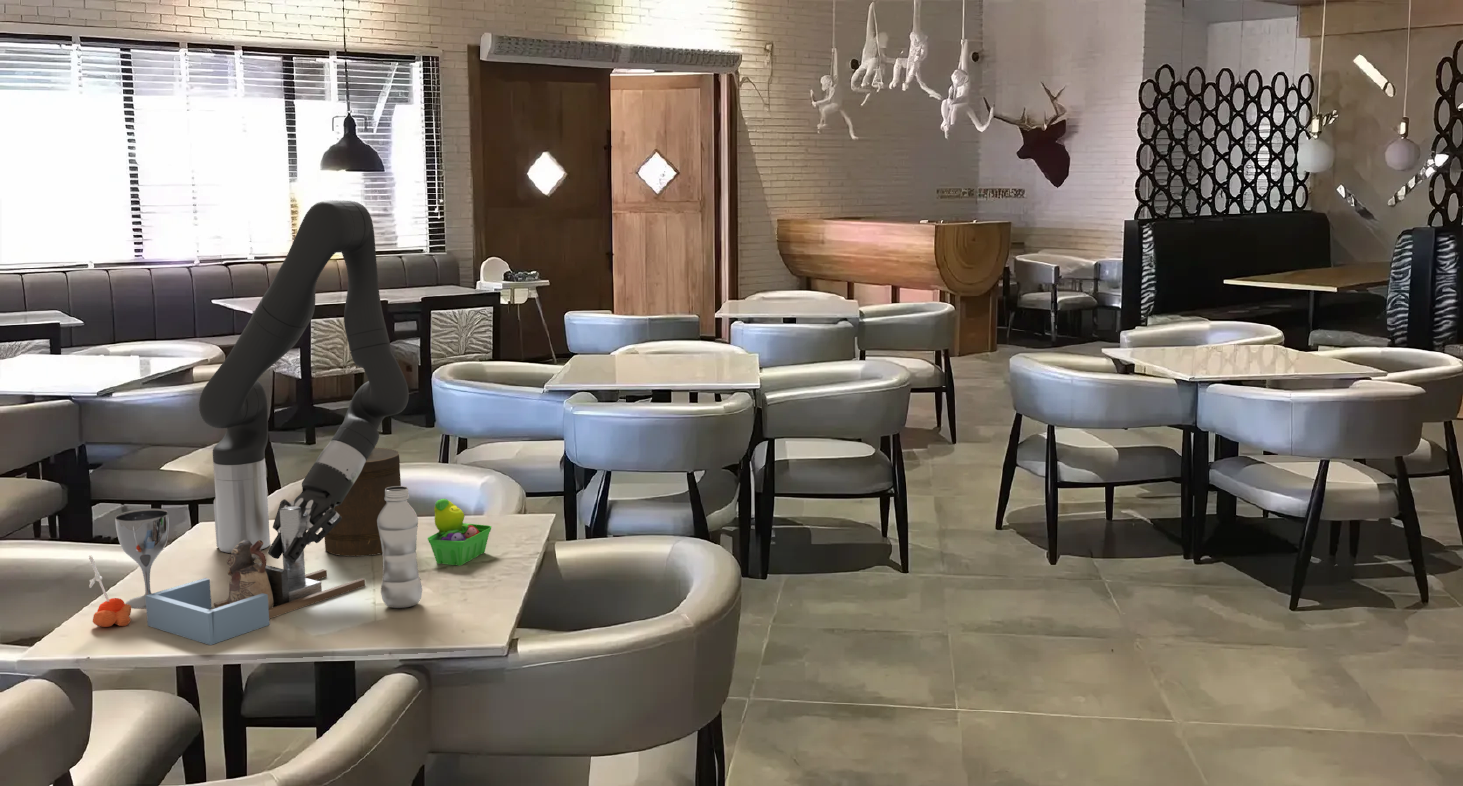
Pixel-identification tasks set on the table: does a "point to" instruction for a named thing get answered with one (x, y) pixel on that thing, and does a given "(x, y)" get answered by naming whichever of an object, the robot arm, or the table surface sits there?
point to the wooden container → (364, 507)
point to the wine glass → (143, 541)
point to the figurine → (248, 573)
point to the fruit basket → (456, 536)
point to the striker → (290, 564)
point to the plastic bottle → (399, 550)
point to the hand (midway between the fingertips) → (280, 557)
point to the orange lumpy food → (109, 606)
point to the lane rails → (311, 598)
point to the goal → (204, 613)
